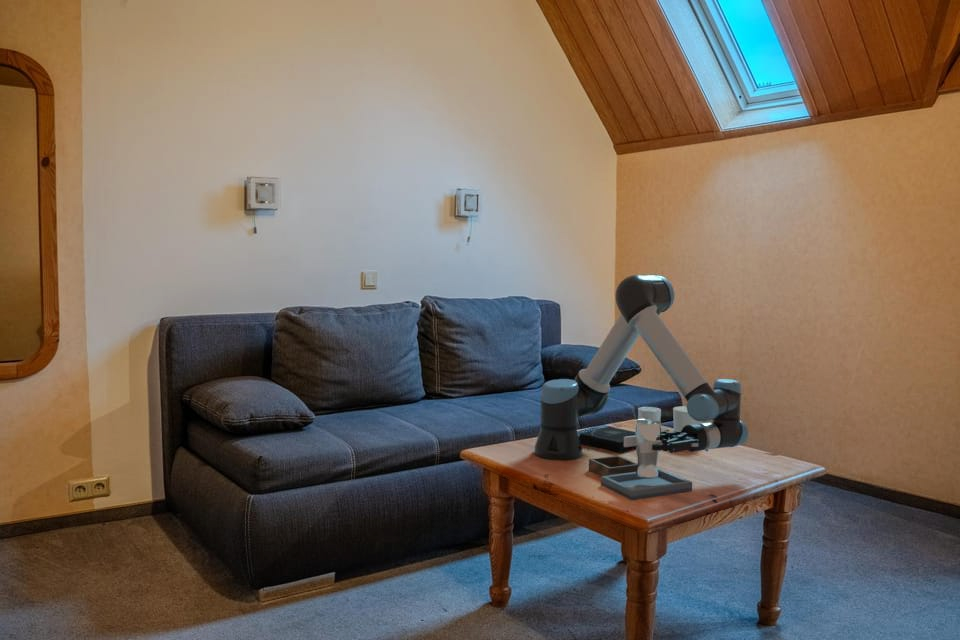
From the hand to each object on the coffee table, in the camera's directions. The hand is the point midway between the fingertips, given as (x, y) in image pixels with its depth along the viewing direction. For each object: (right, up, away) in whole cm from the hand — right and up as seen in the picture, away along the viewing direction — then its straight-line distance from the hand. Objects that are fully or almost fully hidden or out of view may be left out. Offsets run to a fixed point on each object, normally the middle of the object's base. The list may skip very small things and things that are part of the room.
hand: (632, 444), depth 201 cm
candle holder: (+29, -9, +53) cm, 62 cm away
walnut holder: (-2, -11, +17) cm, 20 cm away
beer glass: (+5, -9, +3) cm, 10 cm away
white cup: (+18, -8, +63) cm, 66 cm away
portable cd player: (+4, -9, +52) cm, 52 cm away
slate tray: (+4, -12, +3) cm, 14 cm away
